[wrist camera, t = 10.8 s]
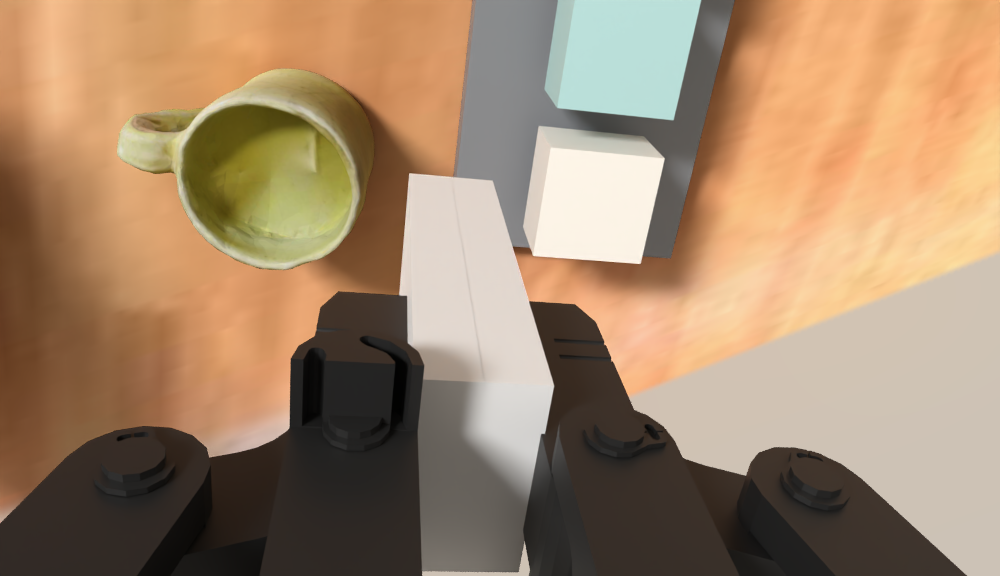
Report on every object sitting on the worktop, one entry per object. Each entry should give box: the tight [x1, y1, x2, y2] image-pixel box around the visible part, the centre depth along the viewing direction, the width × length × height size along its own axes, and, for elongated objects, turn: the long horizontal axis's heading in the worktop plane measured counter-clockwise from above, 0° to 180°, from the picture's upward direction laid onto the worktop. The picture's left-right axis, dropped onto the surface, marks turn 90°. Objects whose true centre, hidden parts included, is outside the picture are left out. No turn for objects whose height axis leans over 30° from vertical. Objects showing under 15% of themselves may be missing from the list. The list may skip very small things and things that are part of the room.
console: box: [453, 0, 735, 258], centre depth 42 cm, size 14×26×5 cm, turn 173°
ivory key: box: [523, 126, 665, 264], centre depth 43 cm, size 6×6×4 cm
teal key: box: [544, 0, 701, 120], centre depth 40 cm, size 6×6×4 cm
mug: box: [117, 69, 374, 270], centre depth 42 cm, size 12×10×10 cm
